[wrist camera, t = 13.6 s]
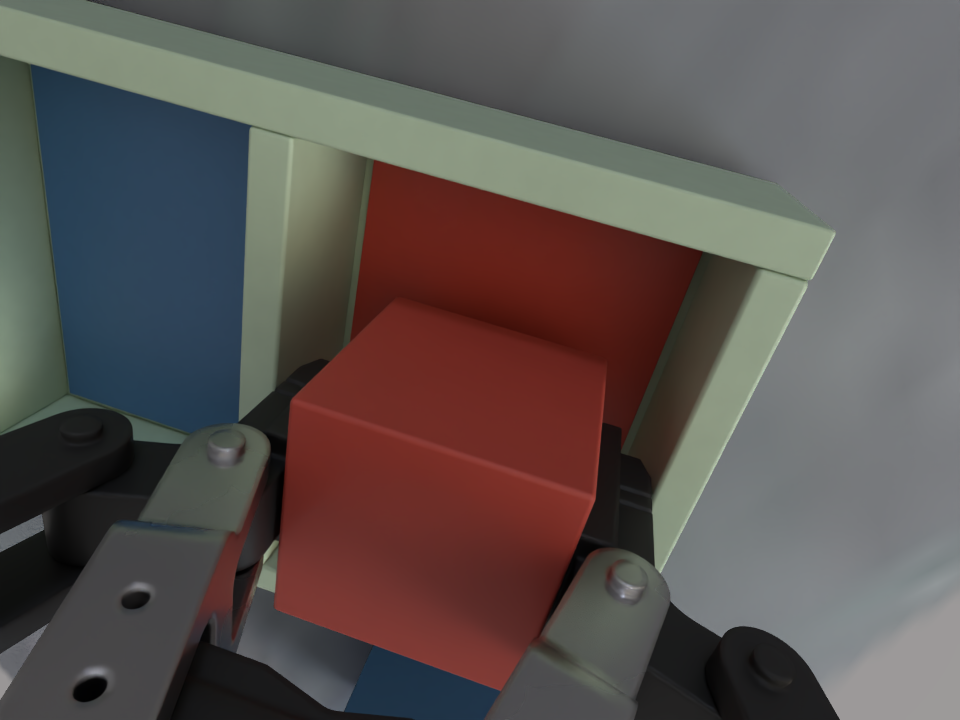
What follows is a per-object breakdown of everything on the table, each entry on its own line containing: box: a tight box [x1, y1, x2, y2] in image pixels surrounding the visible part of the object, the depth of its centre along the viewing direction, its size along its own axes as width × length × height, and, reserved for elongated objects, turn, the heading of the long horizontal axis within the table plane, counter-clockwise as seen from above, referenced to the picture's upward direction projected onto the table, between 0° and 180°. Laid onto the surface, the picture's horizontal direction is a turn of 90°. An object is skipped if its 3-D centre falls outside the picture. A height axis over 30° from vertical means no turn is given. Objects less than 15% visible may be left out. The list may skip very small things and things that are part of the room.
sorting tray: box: [0, 0, 835, 593], centre depth 14 cm, size 18×12×4 cm, turn 77°
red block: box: [274, 297, 607, 691], centre depth 11 cm, size 4×4×4 cm
